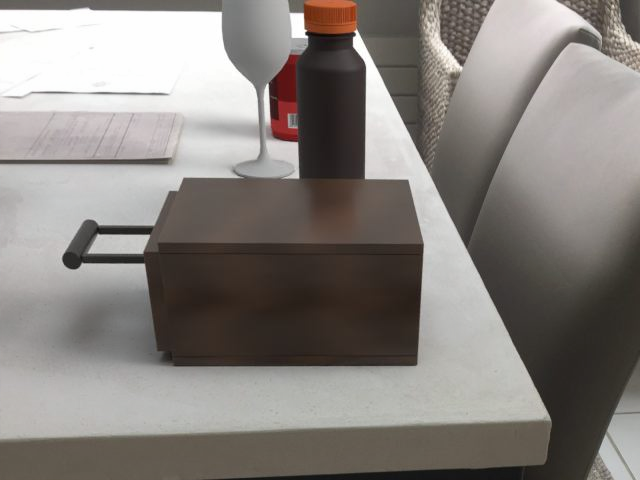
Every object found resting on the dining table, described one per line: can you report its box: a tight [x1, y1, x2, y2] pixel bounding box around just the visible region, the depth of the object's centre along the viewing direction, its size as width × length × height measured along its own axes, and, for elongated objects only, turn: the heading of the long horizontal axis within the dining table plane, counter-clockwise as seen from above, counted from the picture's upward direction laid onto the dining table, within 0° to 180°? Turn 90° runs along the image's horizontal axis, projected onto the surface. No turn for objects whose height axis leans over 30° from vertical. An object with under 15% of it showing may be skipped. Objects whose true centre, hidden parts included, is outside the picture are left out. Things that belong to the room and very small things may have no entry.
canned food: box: [267, 37, 308, 142], centre depth 117 cm, size 8×8×11 cm
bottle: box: [296, 0, 367, 179], centre depth 88 cm, size 7×7×20 cm
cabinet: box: [157, 176, 425, 367], centre depth 71 cm, size 19×15×10 cm
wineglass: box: [221, 0, 295, 178], centre depth 101 cm, size 8×8×21 cm
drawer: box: [61, 190, 178, 352], centre depth 71 cm, size 24×13×8 cm, turn 93°
